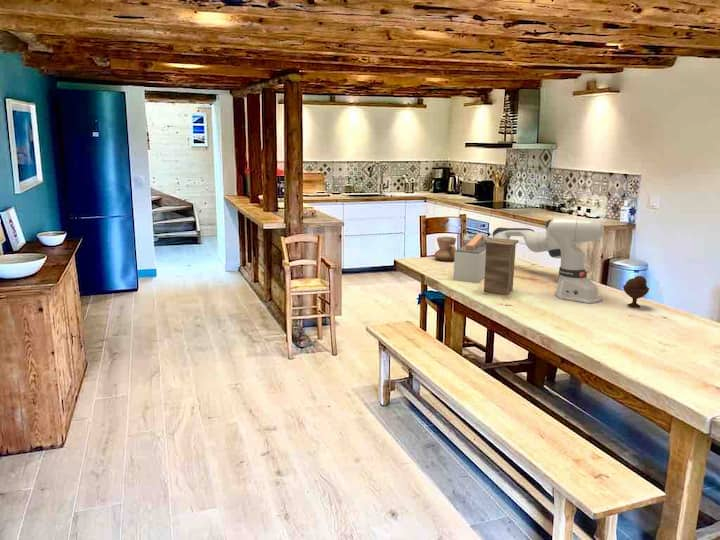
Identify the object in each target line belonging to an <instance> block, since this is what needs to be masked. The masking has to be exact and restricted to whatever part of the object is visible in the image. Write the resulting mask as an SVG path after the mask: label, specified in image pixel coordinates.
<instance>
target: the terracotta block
mask: <svg viewBox="0 0 720 540" xmlns="http://www.w3.org/2000/svg"><path fill="white" fill-rule="evenodd" d="M475 235H476V236H475V237H474V238H473V239H472V240H471V241H470V242H469V243H468V244H467V245H466V244H465V245H466V249H467V250H474V249H475V248H476V247H477V246H478V244H479V243H480V242H481V241H482V240H483V239H482V235H485V236H486V233H480V232H478V233H477V234H475Z"/></svg>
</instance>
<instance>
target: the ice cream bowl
mask: <svg viewBox="0 0 720 540" xmlns="http://www.w3.org/2000/svg"><path fill="white" fill-rule="evenodd" d="M622 287H623V290H624V292H625V294H626V295H627V296H628V297H630V298H632V302H630V303H629V304H627V306H628V307H629V308H633V309H640V308H641V305H640V304H638V303H637V301H638V299H641V298H642V297H643V298H644V296H646V295H647V294H648V293H649V291H650V287H648V285H647V279H646V277H644V276H643V275H636V276H634V277H633V278H629V279H628V280H627V281H626V282H625V284H624V285H623V286H622Z"/></svg>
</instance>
